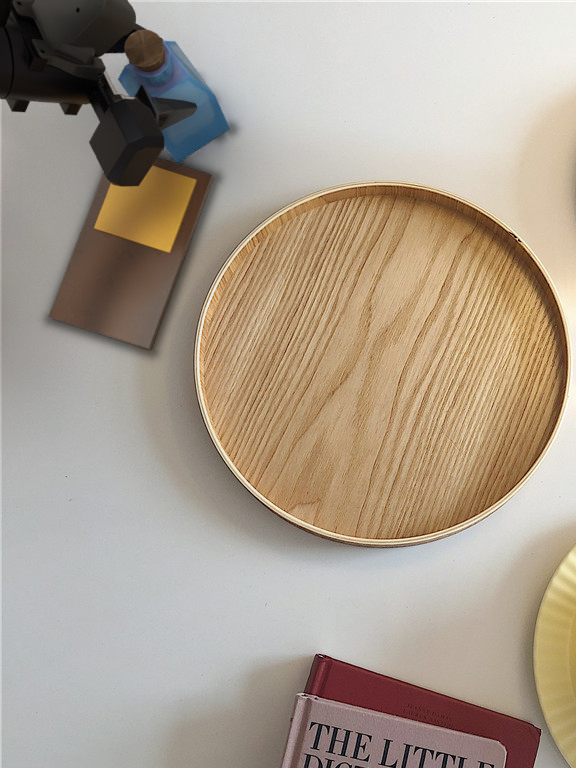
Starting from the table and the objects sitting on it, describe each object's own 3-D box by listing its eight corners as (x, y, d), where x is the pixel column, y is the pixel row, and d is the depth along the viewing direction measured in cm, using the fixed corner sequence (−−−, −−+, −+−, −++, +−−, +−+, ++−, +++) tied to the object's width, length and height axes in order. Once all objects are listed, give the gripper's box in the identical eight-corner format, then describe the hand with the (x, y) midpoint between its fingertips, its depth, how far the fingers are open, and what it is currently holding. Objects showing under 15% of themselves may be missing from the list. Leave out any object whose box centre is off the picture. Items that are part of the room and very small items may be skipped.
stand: (51, 318, 66) (46, 316, 65) (116, 146, 68) (113, 141, 67) (150, 350, 66) (147, 348, 65) (214, 177, 67) (211, 173, 67)
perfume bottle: (177, 163, 68) (133, 98, 56) (141, 114, 68) (90, 39, 56) (229, 128, 68) (197, 56, 56) (193, 79, 68) (154, -3, 56)
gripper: (88, 90, 44) (272, 106, 55) (-33, -154, 45) (172, -88, 57) (35, 193, 51) (208, 188, 63) (-68, -20, 52) (120, 14, 64)
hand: (178, 77), depth 61 cm, fingers closed on perfume bottle, 6 cm apart
